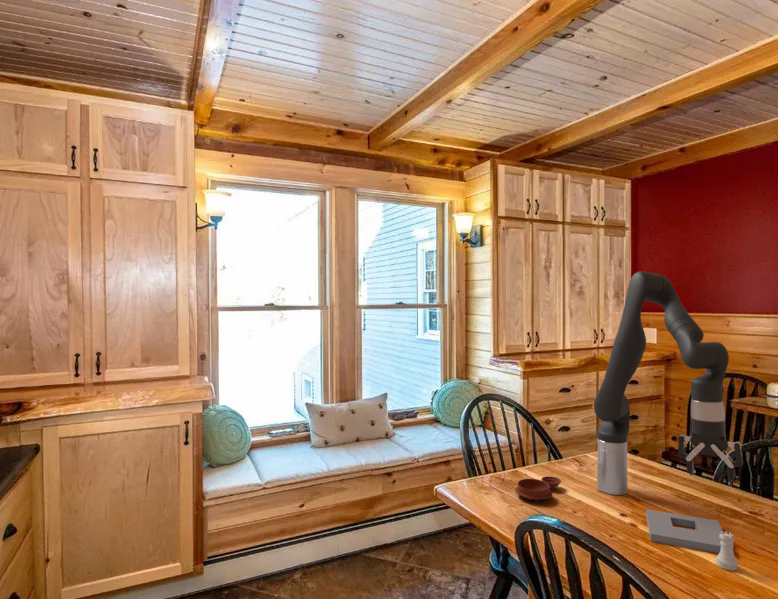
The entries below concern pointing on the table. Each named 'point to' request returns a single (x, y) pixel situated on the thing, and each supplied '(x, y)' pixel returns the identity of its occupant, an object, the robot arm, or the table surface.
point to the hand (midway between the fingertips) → (710, 477)
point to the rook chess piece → (727, 552)
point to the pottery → (537, 488)
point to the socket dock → (684, 531)
